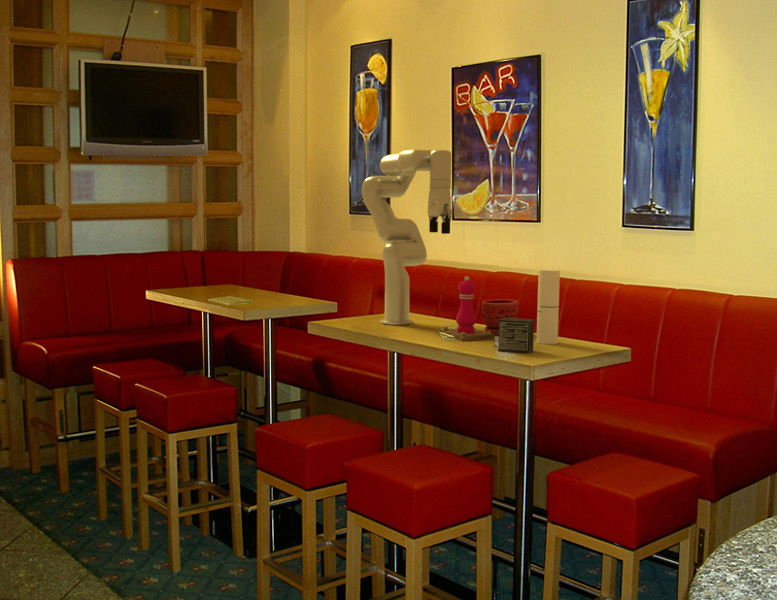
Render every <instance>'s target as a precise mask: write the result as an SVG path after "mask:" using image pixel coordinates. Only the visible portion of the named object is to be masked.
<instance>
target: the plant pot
mask: <svg viewBox="0 0 777 600" xmlns="http://www.w3.org/2000/svg"><path fill="white" fill-rule="evenodd" d="M481 312H482V313H481V314H482V318H483V322H484V324H485V327H484V332H487V331H491V334H494V335H495V336H499V319H502V318H516V319H518V315H519V302H518V300H515V299H501V298H500V299H487V300H482V302H481ZM502 313H503V314H502Z"/></svg>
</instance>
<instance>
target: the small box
mask: <svg viewBox="0 0 777 600" xmlns="http://www.w3.org/2000/svg"><path fill="white" fill-rule="evenodd" d="M534 324H535V319H533V318H532V319H531V318H517V319H516V318H502V319H499V335H498V345H497V346H498V348H497V351H498V352H505V353H520V354H521V353H522V354H530V353H532V352H534V335H535V334H534V332H535V331H534V330H535V328H534V327H535V325H534Z"/></svg>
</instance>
